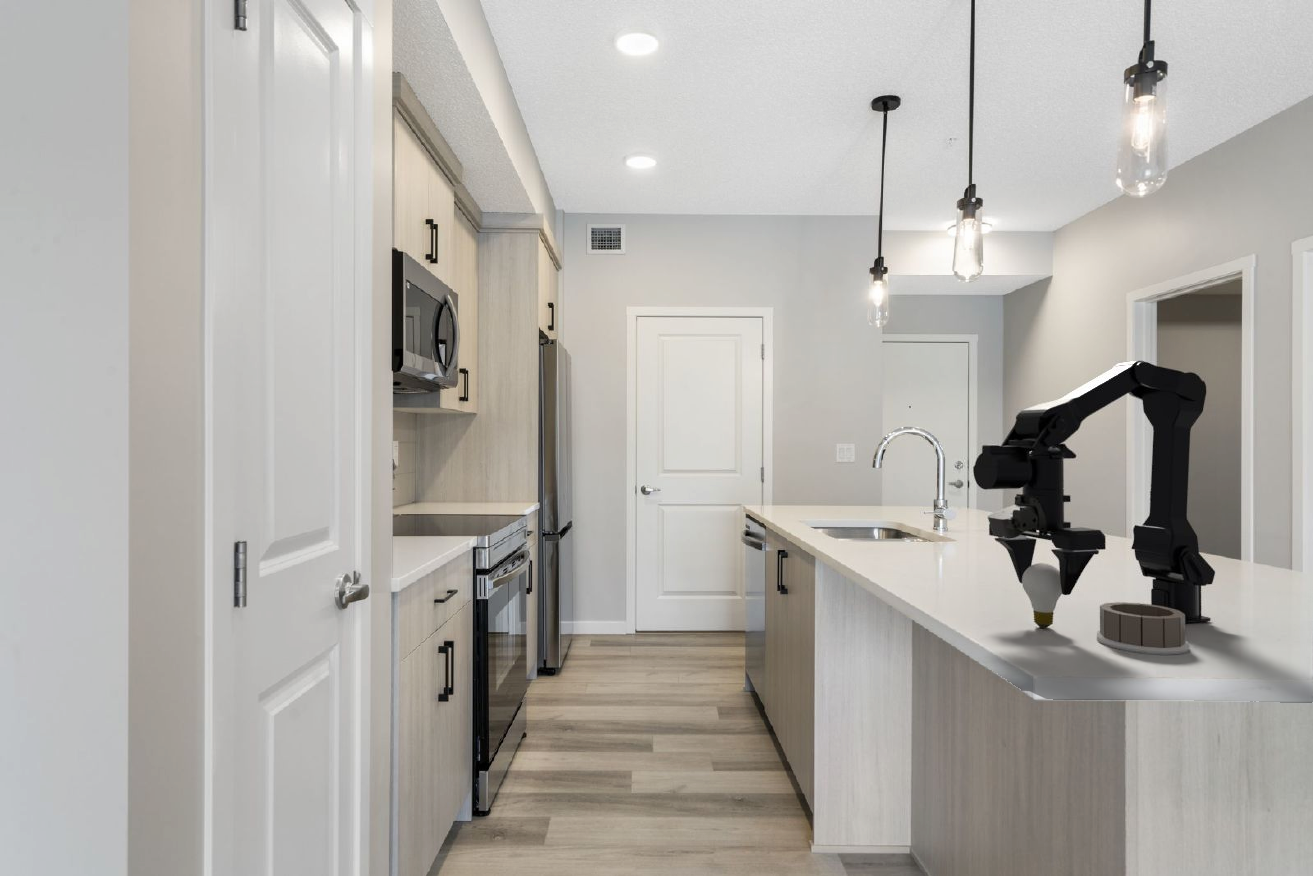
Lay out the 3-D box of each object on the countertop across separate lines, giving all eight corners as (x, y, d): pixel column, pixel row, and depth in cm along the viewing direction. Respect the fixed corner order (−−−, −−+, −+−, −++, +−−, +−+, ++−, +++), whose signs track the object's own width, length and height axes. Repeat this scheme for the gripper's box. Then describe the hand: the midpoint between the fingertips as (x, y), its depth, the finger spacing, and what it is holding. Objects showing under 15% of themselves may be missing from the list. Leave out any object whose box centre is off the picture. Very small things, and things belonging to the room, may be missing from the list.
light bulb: (1070, 633, 112) (1070, 567, 112) (1028, 631, 113) (1027, 566, 113) (1057, 624, 118) (1057, 560, 118) (1017, 622, 119) (1017, 559, 119)
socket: (1141, 631, 113) (1140, 600, 113) (1209, 651, 102) (1208, 616, 102) (1079, 636, 110) (1078, 603, 111) (1142, 657, 100) (1141, 621, 100)
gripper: (959, 485, 123) (960, 580, 123) (1041, 493, 105) (1042, 604, 105) (1018, 484, 125) (1019, 577, 125) (1108, 491, 107) (1109, 600, 107)
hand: (1043, 588), depth 116 cm, fingers open, 9 cm apart
